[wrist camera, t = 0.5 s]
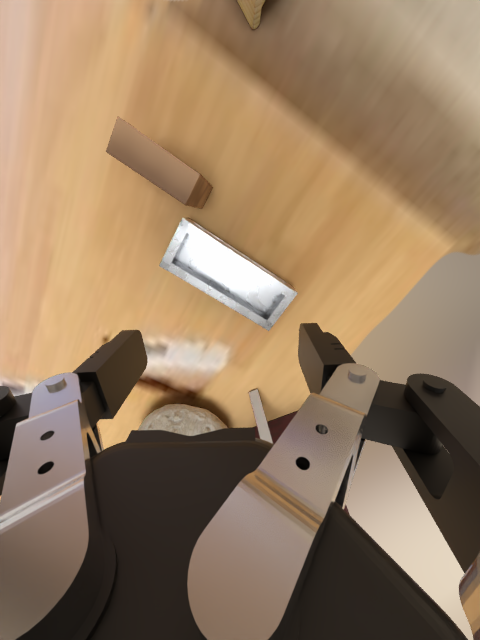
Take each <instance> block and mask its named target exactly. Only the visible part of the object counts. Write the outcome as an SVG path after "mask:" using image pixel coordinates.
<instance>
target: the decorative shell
mask: <svg viewBox="0 0 480 640" xmlns="http://www.w3.org/2000/svg"><path fill="white" fill-rule="evenodd" d="M223 428H228V427H227V426H226V425H225V424H224V423H223V422H222V421H221V420H220V419H219V418H218V417H217V416H215V415H214V414H213V413H211V412H210V411H208V410H206V409H203V408H199V407H194V406H189V405H186V404H168V405H165V406H163V407H161V408H159V409H156V410H154V411H153V412H152V413H150V414H149V415H148V416H147V417H146V418H145V419H144V420H143V422H142V424H141V425H140V427H139V429H138V430H165V431H169V432H174V433H178V434H183V435H187V436H194V435H199V434H203V433H207V432H211V431H215V430H219V429H223Z"/></svg>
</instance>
